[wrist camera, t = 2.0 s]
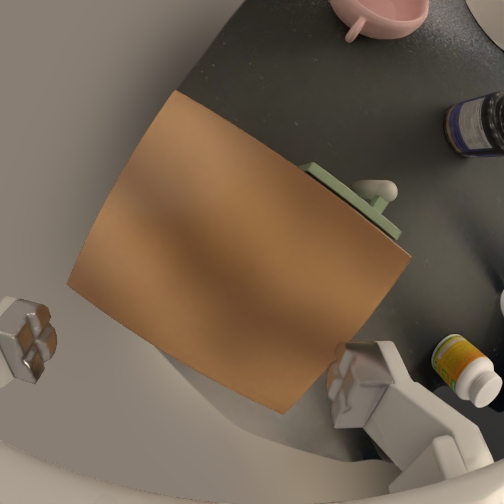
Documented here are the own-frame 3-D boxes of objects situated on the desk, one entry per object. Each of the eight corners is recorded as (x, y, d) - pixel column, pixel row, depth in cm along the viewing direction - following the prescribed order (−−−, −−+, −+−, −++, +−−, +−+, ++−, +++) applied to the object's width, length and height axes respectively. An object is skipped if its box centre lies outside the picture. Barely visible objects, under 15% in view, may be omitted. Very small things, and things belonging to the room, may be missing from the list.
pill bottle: (484, 120, 27) (550, 110, 16) (475, 167, 28) (545, 168, 17) (446, 94, 27) (511, 72, 16) (436, 143, 28) (506, 134, 17)
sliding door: (303, 145, 27) (339, 123, 15) (360, 188, 28) (425, 196, 16) (282, 174, 27) (306, 170, 16) (341, 217, 28) (396, 240, 17)
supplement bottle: (423, 358, 33) (462, 403, 24) (452, 325, 32) (499, 362, 23) (441, 376, 34) (479, 419, 24) (469, 346, 33) (511, 383, 24)
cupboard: (218, 116, 27) (193, 63, 14) (351, 209, 29) (428, 233, 16) (139, 239, 29) (66, 284, 16) (269, 322, 32) (283, 415, 18)
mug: (342, -36, 23) (356, -64, 17) (417, 11, 24) (442, -10, 18) (294, 28, 25) (304, -1, 19) (381, 80, 26) (407, 62, 21)
